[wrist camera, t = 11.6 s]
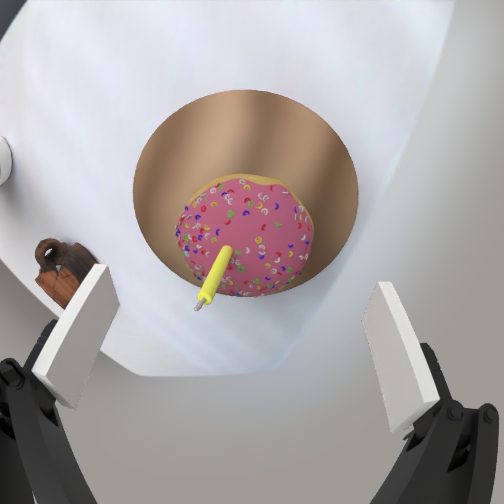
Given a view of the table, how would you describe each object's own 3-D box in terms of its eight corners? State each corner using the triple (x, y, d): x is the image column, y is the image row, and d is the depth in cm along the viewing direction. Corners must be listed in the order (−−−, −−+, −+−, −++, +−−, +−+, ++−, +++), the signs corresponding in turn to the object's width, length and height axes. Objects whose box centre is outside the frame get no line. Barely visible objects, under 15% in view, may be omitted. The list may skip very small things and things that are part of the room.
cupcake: (174, 223, 23) (121, 339, 13) (228, 133, 19) (192, 198, 9) (263, 271, 25) (266, 395, 15) (325, 195, 21) (380, 306, 11)
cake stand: (343, 98, 24) (376, 107, 17) (318, 251, 34) (333, 300, 27) (161, 89, 24) (125, 95, 17) (169, 243, 34) (148, 289, 27)
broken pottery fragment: (116, 282, 38) (84, 327, 34) (84, 266, 42) (55, 303, 38) (72, 224, 30) (30, 274, 25) (45, 214, 33) (10, 255, 29)
